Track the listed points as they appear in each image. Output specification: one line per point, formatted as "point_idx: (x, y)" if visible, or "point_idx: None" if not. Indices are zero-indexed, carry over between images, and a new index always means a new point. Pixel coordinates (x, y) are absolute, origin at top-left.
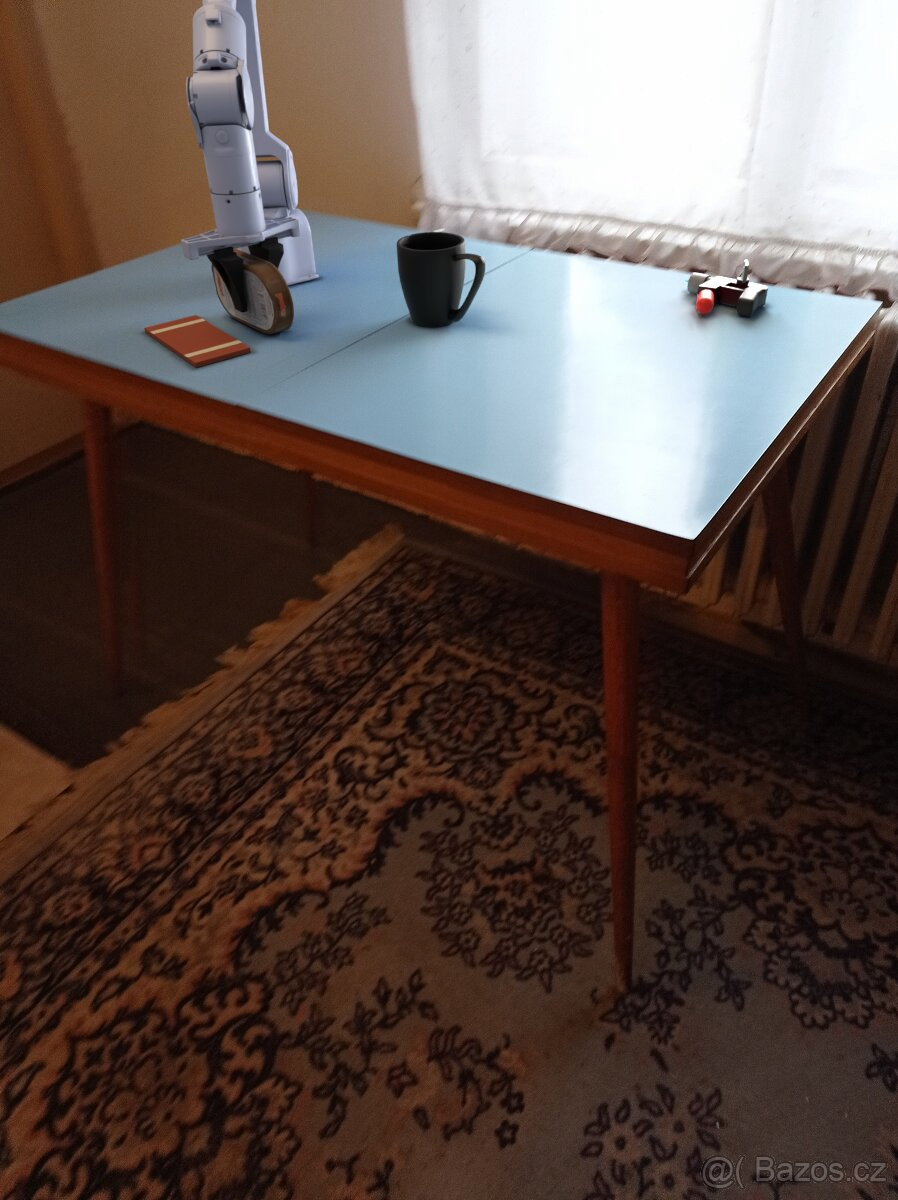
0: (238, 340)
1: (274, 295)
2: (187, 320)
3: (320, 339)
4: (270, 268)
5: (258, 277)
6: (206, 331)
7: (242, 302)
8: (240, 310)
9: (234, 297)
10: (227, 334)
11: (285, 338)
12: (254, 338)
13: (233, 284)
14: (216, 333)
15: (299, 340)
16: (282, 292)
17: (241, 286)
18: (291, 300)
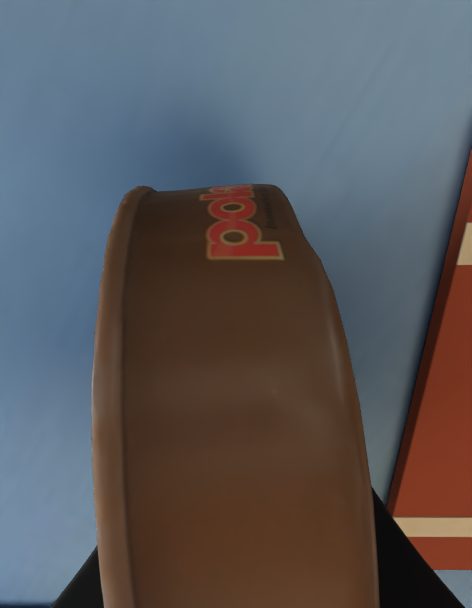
0: (461, 259)
1: (295, 251)
2: (434, 549)
3: (61, 22)
4: (179, 599)
5: (371, 519)
6: (469, 436)
7: None
8: None
9: None
10: (435, 361)
11: None
12: (337, 287)
13: (443, 585)
14: (457, 398)
15: (174, 103)
16: (189, 265)
17: (377, 554)
18: (129, 206)
